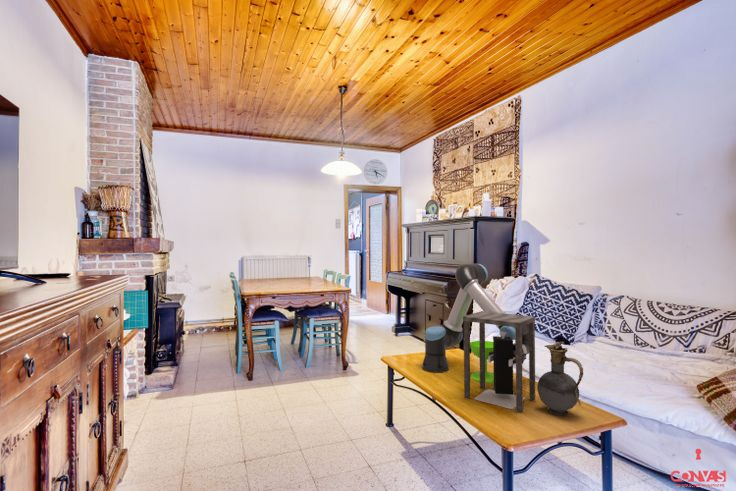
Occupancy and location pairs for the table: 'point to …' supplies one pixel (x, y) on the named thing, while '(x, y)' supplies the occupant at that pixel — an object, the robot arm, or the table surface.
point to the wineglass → (488, 348)
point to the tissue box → (503, 364)
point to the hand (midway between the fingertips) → (499, 361)
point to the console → (517, 322)
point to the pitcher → (559, 383)
